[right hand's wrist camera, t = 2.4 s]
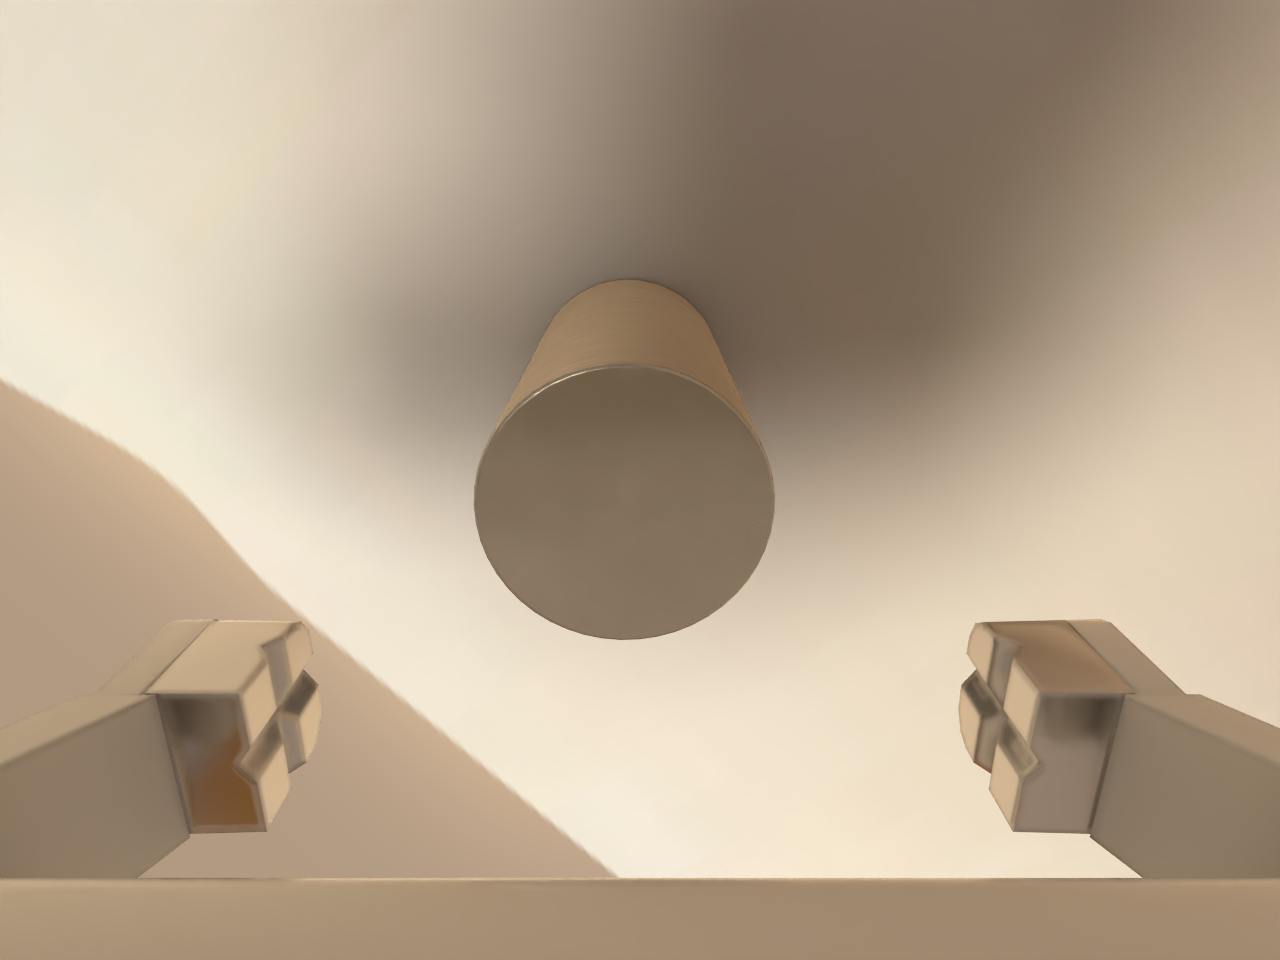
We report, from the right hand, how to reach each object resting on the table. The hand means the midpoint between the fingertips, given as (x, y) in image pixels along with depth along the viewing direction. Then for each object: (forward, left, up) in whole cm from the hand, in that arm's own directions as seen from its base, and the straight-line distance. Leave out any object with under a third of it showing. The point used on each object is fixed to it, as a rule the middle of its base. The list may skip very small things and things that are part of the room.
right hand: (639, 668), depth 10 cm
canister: (0, 0, -15) cm, 15 cm away
